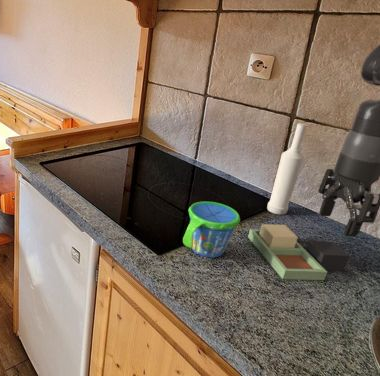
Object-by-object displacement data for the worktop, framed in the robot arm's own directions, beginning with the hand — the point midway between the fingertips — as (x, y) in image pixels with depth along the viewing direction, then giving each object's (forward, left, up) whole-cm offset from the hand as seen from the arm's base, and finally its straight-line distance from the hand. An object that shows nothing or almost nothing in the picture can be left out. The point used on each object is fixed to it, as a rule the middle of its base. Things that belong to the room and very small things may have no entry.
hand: (336, 225), depth 87 cm
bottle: (-2, -25, -10) cm, 27 cm away
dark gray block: (0, 0, -10) cm, 10 cm away
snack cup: (+25, -4, -10) cm, 27 cm away
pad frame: (+8, -2, -10) cm, 13 cm away
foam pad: (+8, -6, -9) cm, 13 cm away
